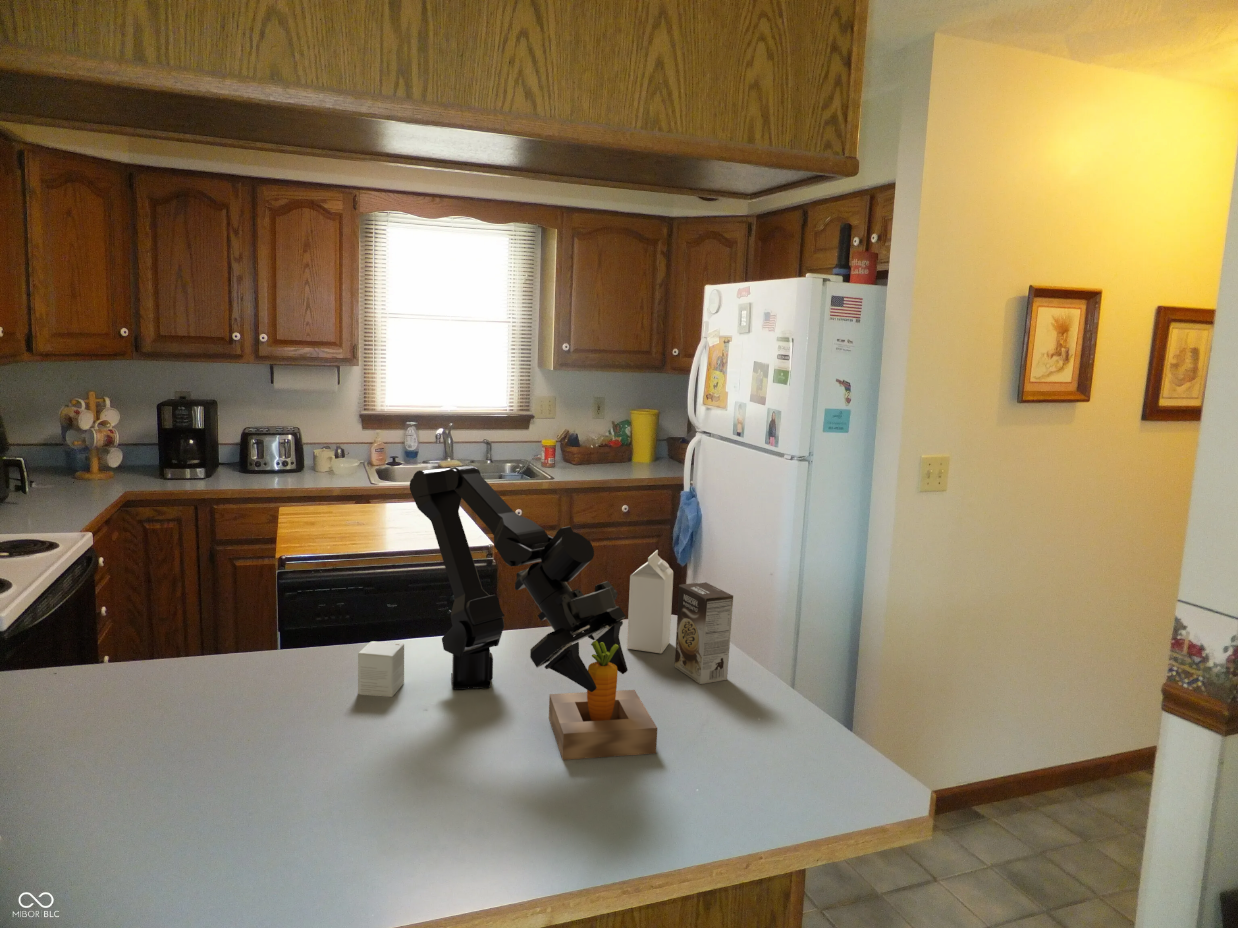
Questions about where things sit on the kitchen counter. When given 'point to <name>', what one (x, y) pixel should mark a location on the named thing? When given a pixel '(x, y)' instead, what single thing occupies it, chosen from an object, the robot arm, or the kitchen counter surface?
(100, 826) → the kitchen counter surface
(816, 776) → the kitchen counter surface
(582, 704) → the walnut socket block
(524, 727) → the kitchen counter surface
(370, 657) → the product box
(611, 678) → the carrot
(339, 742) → the kitchen counter surface
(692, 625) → the coffee box
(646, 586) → the milk carton
